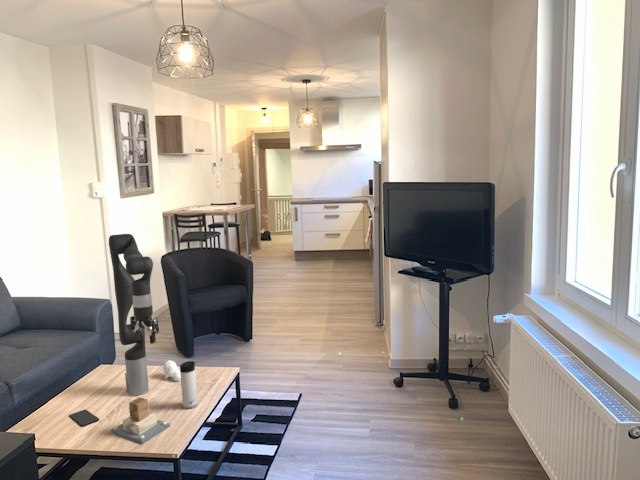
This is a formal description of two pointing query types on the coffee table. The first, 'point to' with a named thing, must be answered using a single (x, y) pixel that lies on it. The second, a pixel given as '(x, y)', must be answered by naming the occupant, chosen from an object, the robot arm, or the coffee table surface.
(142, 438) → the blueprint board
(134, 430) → the birch plinth
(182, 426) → the coffee table surface
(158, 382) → the coffee table surface
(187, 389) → the travel mug
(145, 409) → the walnut block
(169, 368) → the white lumpy piece
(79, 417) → the smartphone
